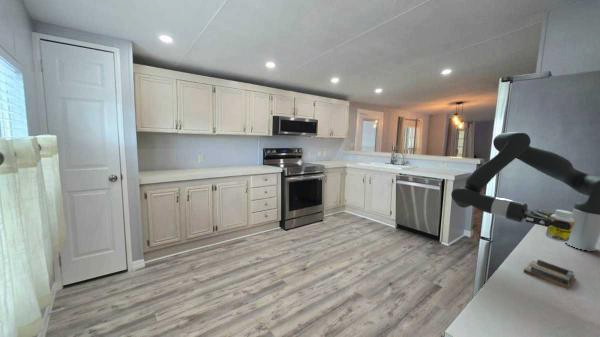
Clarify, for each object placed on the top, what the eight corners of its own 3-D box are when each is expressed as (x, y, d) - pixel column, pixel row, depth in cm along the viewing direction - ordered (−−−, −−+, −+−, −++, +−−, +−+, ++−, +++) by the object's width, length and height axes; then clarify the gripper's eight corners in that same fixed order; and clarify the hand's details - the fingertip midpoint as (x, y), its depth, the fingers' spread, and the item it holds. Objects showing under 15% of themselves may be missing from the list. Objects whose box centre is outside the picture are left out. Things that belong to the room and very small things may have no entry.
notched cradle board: (532, 262, 93) (533, 256, 93) (574, 277, 84) (575, 271, 84) (523, 271, 87) (524, 265, 86) (567, 289, 78) (569, 282, 77)
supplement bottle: (551, 240, 82) (559, 212, 80) (541, 234, 87) (548, 207, 85) (572, 244, 80) (581, 215, 78) (560, 237, 85) (568, 210, 83)
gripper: (504, 202, 89) (571, 218, 75) (516, 198, 97) (578, 211, 83) (500, 221, 90) (565, 240, 77) (512, 215, 98) (573, 231, 85)
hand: (571, 225), depth 80 cm, fingers closed on supplement bottle, 5 cm apart
